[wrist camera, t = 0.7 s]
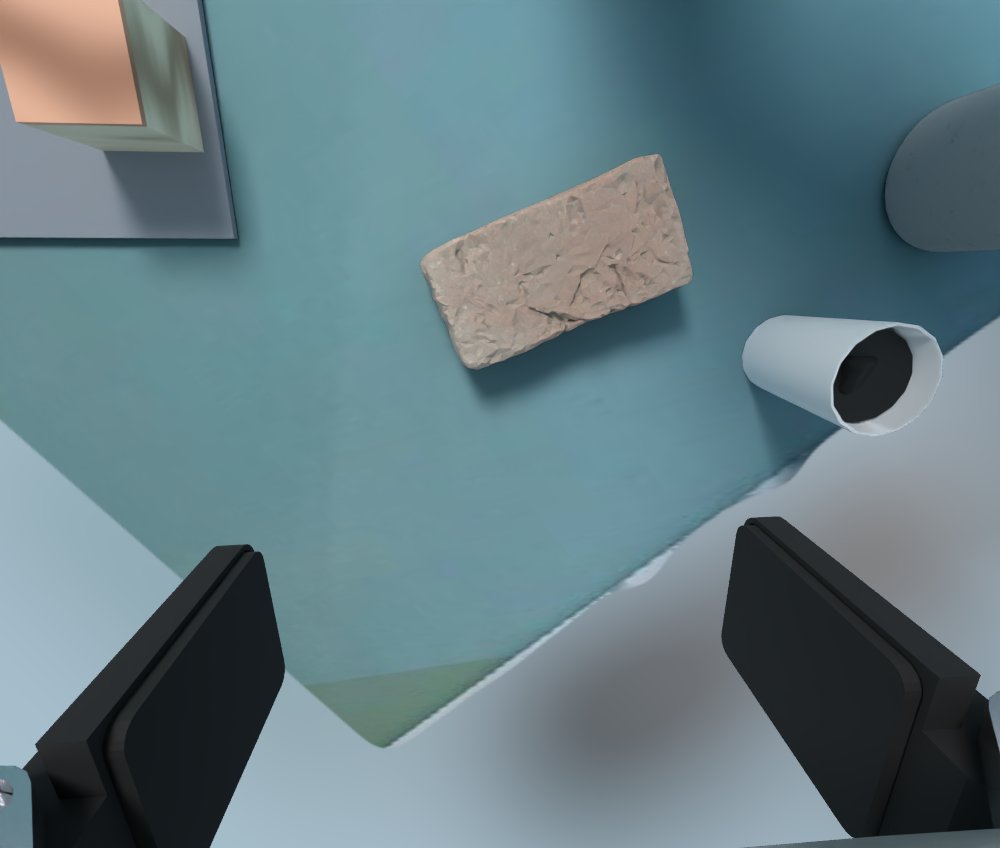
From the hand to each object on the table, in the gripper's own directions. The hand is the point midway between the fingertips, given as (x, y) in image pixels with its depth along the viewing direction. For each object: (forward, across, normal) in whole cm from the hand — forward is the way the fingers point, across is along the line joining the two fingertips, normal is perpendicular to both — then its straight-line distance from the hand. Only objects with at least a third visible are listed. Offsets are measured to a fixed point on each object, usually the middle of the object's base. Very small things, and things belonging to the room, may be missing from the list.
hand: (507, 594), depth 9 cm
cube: (+27, +20, -16) cm, 37 cm away
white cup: (+28, -23, +1) cm, 36 cm away
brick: (+28, -5, -6) cm, 29 cm away
